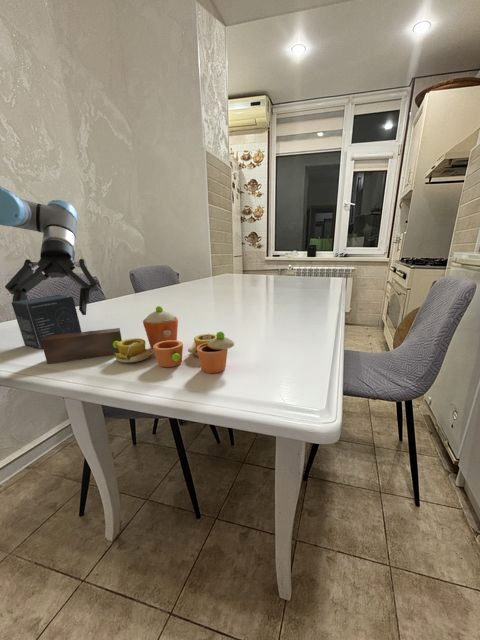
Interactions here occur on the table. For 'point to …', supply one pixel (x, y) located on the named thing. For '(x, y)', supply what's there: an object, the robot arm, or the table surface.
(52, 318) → the box
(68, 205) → the robot arm
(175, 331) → the toy tea set
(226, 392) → the table surface
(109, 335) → the block
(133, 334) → the table surface
